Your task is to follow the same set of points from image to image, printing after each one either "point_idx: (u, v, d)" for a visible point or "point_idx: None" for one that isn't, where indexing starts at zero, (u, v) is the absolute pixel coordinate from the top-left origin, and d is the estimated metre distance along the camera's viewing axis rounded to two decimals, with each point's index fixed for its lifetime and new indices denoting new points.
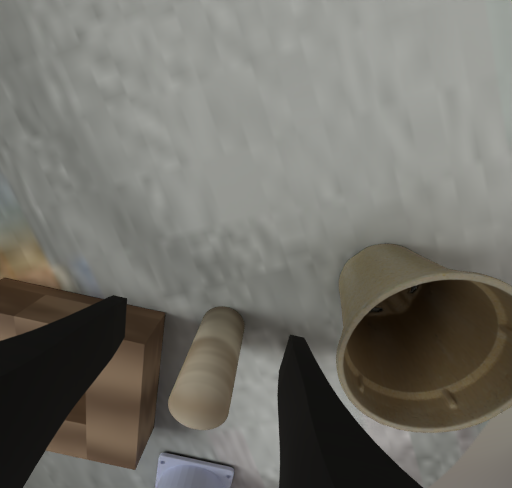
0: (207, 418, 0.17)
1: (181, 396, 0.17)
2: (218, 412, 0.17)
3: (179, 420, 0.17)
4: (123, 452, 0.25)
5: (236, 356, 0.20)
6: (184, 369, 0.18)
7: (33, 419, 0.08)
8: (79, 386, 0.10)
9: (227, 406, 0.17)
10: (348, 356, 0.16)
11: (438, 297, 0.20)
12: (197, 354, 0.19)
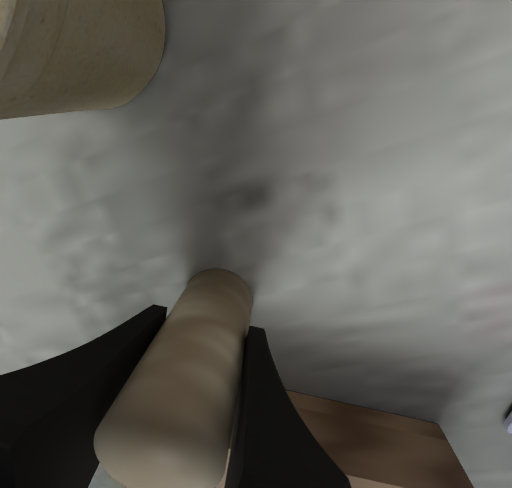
0: (187, 446, 0.07)
1: (135, 477, 0.08)
2: (164, 425, 0.07)
3: None
4: None
5: (181, 317, 0.11)
6: None
7: (93, 432, 0.08)
8: None
9: (142, 407, 0.07)
10: None
11: None
12: None
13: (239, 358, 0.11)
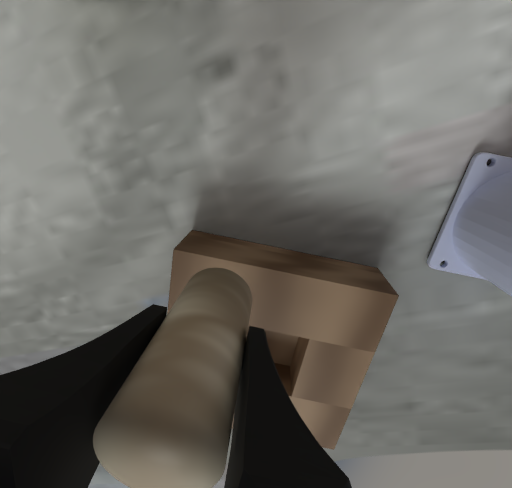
0: (186, 443, 0.07)
1: (135, 476, 0.08)
2: (161, 423, 0.07)
3: (204, 487, 0.08)
4: (360, 305, 0.18)
5: (179, 316, 0.11)
6: None
7: (93, 432, 0.08)
8: None
9: (139, 405, 0.07)
10: None
11: None
12: None
13: (238, 355, 0.10)
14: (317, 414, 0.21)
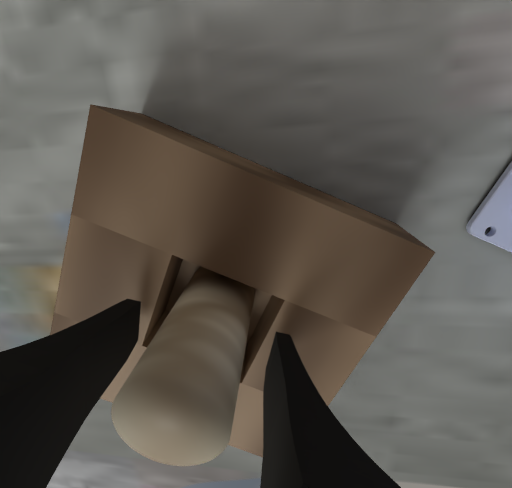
0: (195, 412, 0.08)
1: (150, 445, 0.09)
2: (173, 394, 0.08)
3: (212, 455, 0.09)
4: (374, 258, 0.12)
5: (186, 304, 0.12)
6: None
7: (54, 424, 0.08)
8: (96, 390, 0.10)
9: (152, 378, 0.08)
10: None
11: None
12: None
13: (241, 339, 0.11)
14: None
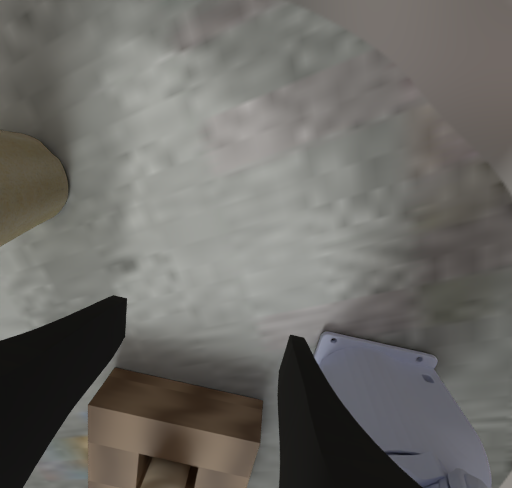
0: None
1: None
2: None
3: None
4: (233, 447, 0.23)
5: (148, 481, 0.24)
6: None
7: (33, 419, 0.08)
8: (79, 386, 0.10)
9: None
10: None
11: None
12: None
13: None
14: None
